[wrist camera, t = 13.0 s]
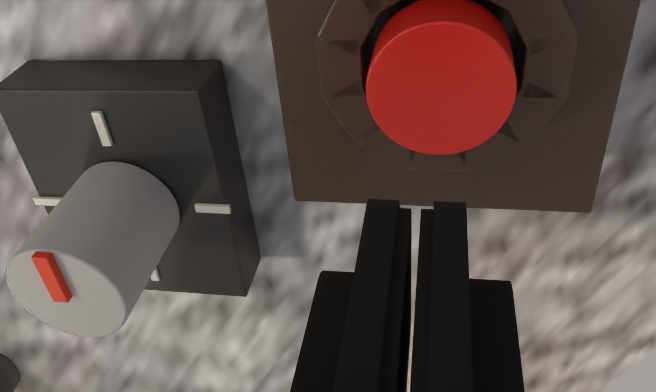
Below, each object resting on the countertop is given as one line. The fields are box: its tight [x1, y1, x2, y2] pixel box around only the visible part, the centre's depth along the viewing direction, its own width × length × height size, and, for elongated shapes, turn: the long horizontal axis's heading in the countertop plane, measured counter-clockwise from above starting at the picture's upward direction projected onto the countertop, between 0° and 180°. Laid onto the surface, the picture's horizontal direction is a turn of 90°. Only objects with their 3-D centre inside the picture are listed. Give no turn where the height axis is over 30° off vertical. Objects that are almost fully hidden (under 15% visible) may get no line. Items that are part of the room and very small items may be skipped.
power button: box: [366, 0, 517, 155], centre depth 15 cm, size 4×4×2 cm
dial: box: [6, 162, 180, 337], centre depth 22 cm, size 4×4×5 cm
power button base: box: [266, 0, 641, 213], centre depth 18 cm, size 12×10×5 cm
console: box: [0, 60, 261, 297], centre depth 25 cm, size 10×8×3 cm
